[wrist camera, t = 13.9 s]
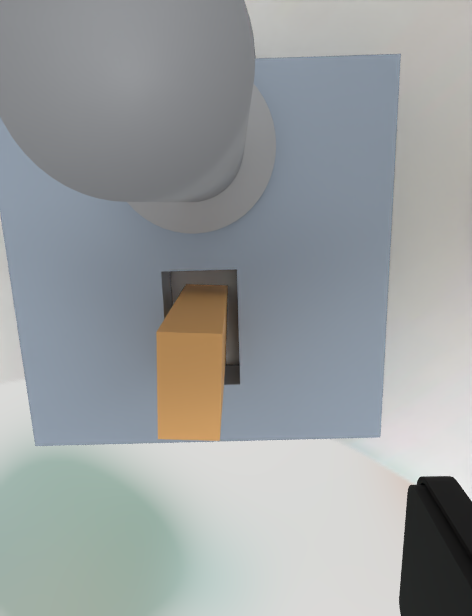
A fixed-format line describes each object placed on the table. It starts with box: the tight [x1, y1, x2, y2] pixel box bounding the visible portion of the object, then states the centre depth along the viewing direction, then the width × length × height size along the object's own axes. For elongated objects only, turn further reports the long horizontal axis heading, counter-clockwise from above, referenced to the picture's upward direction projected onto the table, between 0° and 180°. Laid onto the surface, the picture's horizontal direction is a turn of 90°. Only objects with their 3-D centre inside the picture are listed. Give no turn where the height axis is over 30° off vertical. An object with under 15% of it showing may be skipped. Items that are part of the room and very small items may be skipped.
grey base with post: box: [0, 0, 401, 446], centre depth 18 cm, size 20×20×17 cm
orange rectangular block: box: [156, 284, 228, 441], centre depth 22 cm, size 2×4×10 cm, turn 178°
